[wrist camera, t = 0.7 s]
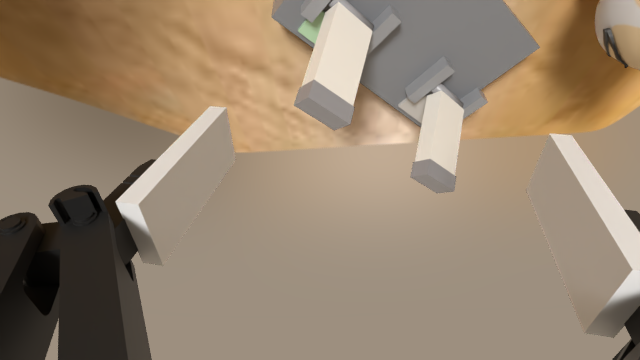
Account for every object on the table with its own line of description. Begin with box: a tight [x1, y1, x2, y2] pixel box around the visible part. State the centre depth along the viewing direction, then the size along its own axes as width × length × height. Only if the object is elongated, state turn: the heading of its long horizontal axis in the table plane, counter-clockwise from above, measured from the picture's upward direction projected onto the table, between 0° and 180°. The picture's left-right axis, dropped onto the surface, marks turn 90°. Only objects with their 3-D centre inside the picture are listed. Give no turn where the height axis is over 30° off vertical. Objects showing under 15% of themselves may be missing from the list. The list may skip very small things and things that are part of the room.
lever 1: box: [294, 0, 374, 130], centre depth 30 cm, size 4×2×11 cm, turn 50°
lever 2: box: [411, 83, 464, 193], centre depth 37 cm, size 4×2×11 cm, turn 50°
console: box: [272, 0, 540, 127], centre depth 35 cm, size 23×14×5 cm, turn 50°
